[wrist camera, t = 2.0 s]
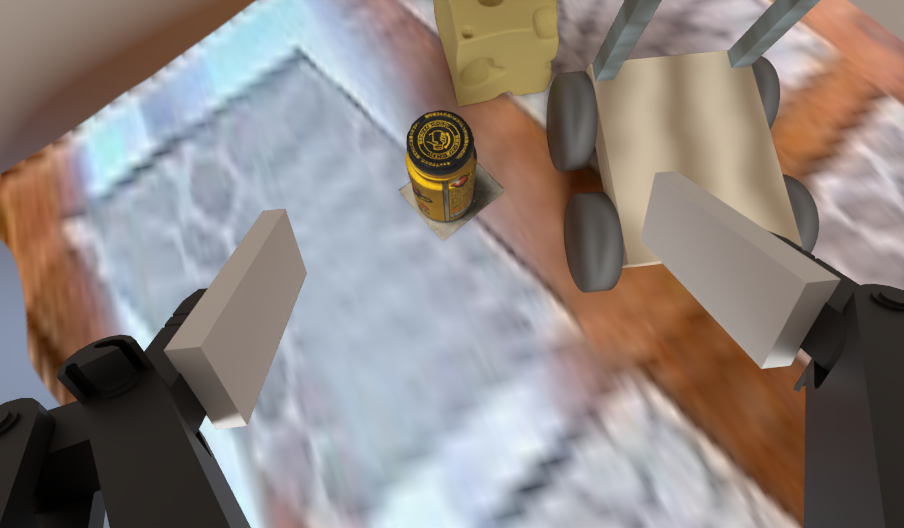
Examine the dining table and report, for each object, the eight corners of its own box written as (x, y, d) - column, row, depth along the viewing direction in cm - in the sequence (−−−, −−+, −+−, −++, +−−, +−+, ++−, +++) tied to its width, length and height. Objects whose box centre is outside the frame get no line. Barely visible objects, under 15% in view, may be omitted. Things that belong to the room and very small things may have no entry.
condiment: (398, 191, 42) (377, 133, 31) (459, 143, 43) (461, 70, 32) (443, 242, 41) (438, 202, 30) (504, 192, 42) (523, 134, 31)
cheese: (546, 93, 45) (572, 23, 35) (452, 111, 44) (451, 45, 34) (524, 15, 47) (543, -73, 37) (434, 32, 46) (428, -52, 36)
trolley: (702, 93, 44) (955, -160, 22) (749, 279, 40) (1117, 199, 18) (542, 109, 44) (632, -132, 22) (573, 297, 40) (723, 240, 18)
